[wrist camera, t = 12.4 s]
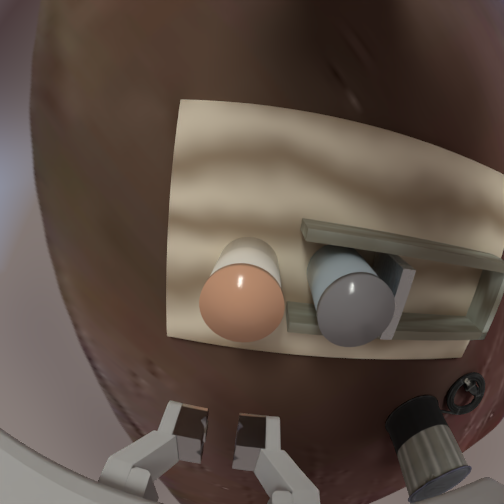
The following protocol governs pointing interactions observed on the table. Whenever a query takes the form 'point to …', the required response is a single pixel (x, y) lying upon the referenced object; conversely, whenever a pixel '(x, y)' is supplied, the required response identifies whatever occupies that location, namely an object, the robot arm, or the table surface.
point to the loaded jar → (348, 296)
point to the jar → (243, 292)
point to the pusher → (394, 284)
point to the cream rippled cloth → (333, 222)
